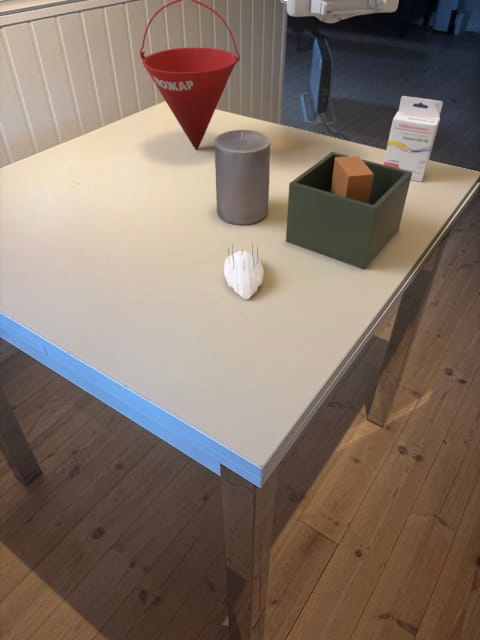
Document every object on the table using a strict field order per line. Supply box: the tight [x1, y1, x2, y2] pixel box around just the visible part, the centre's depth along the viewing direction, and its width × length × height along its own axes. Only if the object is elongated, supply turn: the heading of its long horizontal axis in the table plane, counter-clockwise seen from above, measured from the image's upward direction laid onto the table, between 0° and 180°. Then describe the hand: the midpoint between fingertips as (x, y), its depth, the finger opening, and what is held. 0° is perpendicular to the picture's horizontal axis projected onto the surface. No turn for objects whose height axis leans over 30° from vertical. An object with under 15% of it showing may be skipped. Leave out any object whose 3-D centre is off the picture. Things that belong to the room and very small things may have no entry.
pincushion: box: [223, 242, 265, 300], centre depth 75 cm, size 12×6×6 cm, turn 4°
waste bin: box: [285, 151, 412, 270], centre depth 82 cm, size 15×15×11 cm
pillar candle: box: [214, 129, 272, 226], centre depth 87 cm, size 10×10×15 cm
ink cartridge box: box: [383, 95, 444, 183], centre depth 98 cm, size 9×5×15 cm, turn 65°
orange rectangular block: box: [331, 155, 374, 204], centre depth 81 cm, size 4×7×12 cm, turn 9°
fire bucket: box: [139, 0, 241, 150], centre depth 104 cm, size 22×20×30 cm
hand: (355, 7), depth 82 cm, fingers open, 8 cm apart
